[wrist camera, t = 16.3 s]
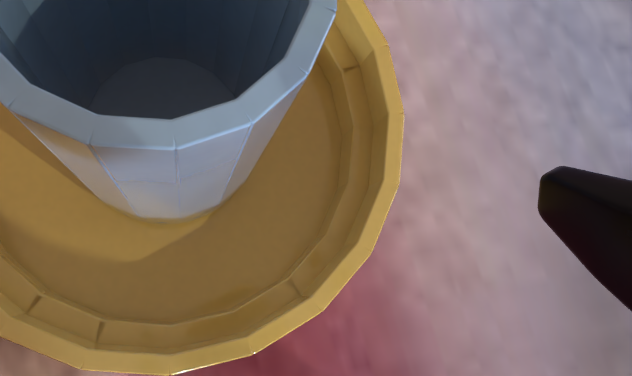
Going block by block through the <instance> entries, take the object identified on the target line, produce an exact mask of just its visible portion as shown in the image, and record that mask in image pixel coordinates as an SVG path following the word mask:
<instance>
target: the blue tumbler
mask: <svg viewBox="0 0 632 376" xmlns="http://www.w3.org/2000/svg"><path fill="white" fill-rule="evenodd" d="M336 11H337V0H0V102H1V103H2V104H3V105H4V107H5V108H7V109H8V110H9V111H10V112H11V113H12V114H13V115H14V116H15V117H16V118H17V119H18V120H19V121H20V122H21V123H22V124H23V125H24V126H25V127H26V128H27V129H28V130H29V131H30V132H31V133H32V134H33V135H34V136H35V137H36V138H37V139H38V140H39V141H40V142H42V143H43V144H44V145H45V146H46V147H47V148H48V149H49V150H50V151H51V152H52V153H53V154H54V155H55V156H56V157H57V158H58V159H59V160H60V161H61V162H62V163H63V164H64V165H65V166H66V167H67V168H68V169H69V170H70V171H71V172H72V173H73V174H74V175H75V176H77V177H78V178H79V179H80V180H81V181H82V182H83V183H84V184H85V185H86V186H87V187H88V188H89V189H90V190H91V191H92V192H93V193H94V194H95V195H96V196H97V197H98V198H99V199H100V200H101V201H102V202H103V203H104V204H105V205H107V206H108V207H110V208H112V209H114V210H116V211H117V212H119V213H121V214H123V215H125V216H127V217H130V218H132V219H135V220H138V221H142V222H147V223H152V224H162V225H164V224H179V223H185V222H189V221H193V220H196V219H199V218H201V217H203V216H206V215H208V214H210V213H212V212H213V211H215V210H217V209H218V208H220V207H221V206H222V205H223V204H225V203H226V202H227V201H228V200H229V199H230V198H231V197H232V196H233V195H234V194H235V193H236V192H237V191H238V190H239V189H240V188H241V187H242V185H243V184H244V183H245V181H246V179H247V178H248V176H249V174H250V172H251V171H252V169H253V167H254V166H255V164H256V162H257V161H258V159H259V157H260V156H261V154H262V152H263V151H264V149H265V147H266V146H267V144H268V142H269V141H270V139H271V137H272V136H273V134H274V132H275V131H276V129H277V127H278V126H279V124H280V122H281V121H282V119H283V117H284V116H285V114H286V112H287V111H288V109H289V107H290V106H291V104H292V102H293V101H294V99H295V97H296V96H297V94H298V92H299V91H300V89H301V87H302V85H303V84H304V82H305V80H306V79H307V77H308V75H309V74H310V72H311V70H312V67H313V65H314V63H315V61H316V58H317V56H318V54H319V52H320V50H321V47H322V45H323V43H324V41H325V39H326V36H327V34H328V32H329V30H330V28H331V25H332V23H333V21H334V19H335V16H336Z"/></svg>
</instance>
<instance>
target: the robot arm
mask: <svg viewBox="0 0 632 376" xmlns="http://www.w3.org/2000/svg"><path fill="white" fill-rule="evenodd" d="M538 211H539V214H540V216H541V217H542V219H543V220H544V221H545V222H546V224H547V225H548V226H549V227H550V228H551V229H552V230H553V231H554V232H555V234H556V235H557V236H558V237H559V238H560V239H561V240H562V241H563V243H564V244H565V245H566V246H567V247H568V248H569V249H570V250H571V252H572V253H573V254H574V255H575V256H576V257H577V258H578V259H579V260H580V262H581V263H582V264H583V265H584V266H585V267H586V268H587V269H588V270H589V272H590V273H591V274H592V275H593V276H594V277H595V278H596V279H597V280H598V281H599V282H600V283H601V284H602V285H603V286H604V287H605V288H607V289H608V290H609V291H610V292H611V293H612V294H613V295H614V296H615V297H616V298H617V299H619V300H620V301H621V302H622V303H623V304H624V305H625V306H626V307H627V308H628V309H630V310H631V311H632V181H631V180H626V179H622V178H617V177H613V176H608V175H603V174H599V173H594V172H590V171H585V170H581V169H576V168H571V167H566V166H559V167H556V168H555V169H553V170H551V171H549V172H547V173H546V174H544V175H543V176H542V177H541V180H540V187H539V197H538Z"/></svg>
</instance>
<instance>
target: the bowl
mask: <svg viewBox="0 0 632 376" xmlns="http://www.w3.org/2000/svg"><path fill="white" fill-rule="evenodd" d="M403 113H404V109H403V105H402V101H401V96H400V92H399V88H398V84H397V79H396V75H395V71H394V67H393V62H392V58H391V54H390V49H389V46H388V43H387V41H386V39H385V37H384V36H383V34H382V32H381V30H380V29H379V27H378V25H377V24H376V22H375V20H374V18H373V17H372V15H371V13H370V11H369V10H368V8H367V6H366V4H365V3H364V1H363V0H337V11H336V16H335V19H334V21H333V23H332V25H331V28H330V30H329V32H328V34H327V36H326V39H325V41H324V43H323V45H322V47H321V50H320V52H319V54H318V56H317V58H316V61H315V63H314V65H313V67H312V70H311V72H310V74H309V75H308V77H307V79H306V80H305V82H304V84H303V85H302V87H301V89H300V91H299V92H298V94H297V96H296V97H295V99H294V101H293V102H292V104H291V106H290V107H289V109H288V111H287V112H286V114H285V116H284V117H283V119H282V121H281V122H280V124H279V126H278V127H277V129H276V131H275V132H274V134H273V136H272V137H271V139H270V141H269V142H268V144H267V146H266V147H265V149H264V151H263V152H262V154H261V156H260V157H259V159H258V161H257V162H256V164H255V166H254V167H253V169H252V171H251V172H250V174H249V176H248V178H247V179H246V181H245V183H244V184H243V185H242V187H241V188H240V189H239V190H238V191H237V192H236V193H235V194H234V195H233V196H232V197H231V198H230V199H229V200H228V201H227V202H226V203H225V204H223V205H222V206H221V207H220V208H218V209H217V210H215V211H213V212H212V213H210V214H208V215H206V216H203V217H201V218H199V219H196V220H193V221H189V222H185V223H179V224H164V225H162V224H152V223H147V222H142V221H138V220H135V219H132V218H130V217H127V216H125V215H123V214H121V213H119V212H117V211H116V210H114V209H112V208H110V207H108V206H107V205H105V204H104V203H103V202H102V201H101V200H100V199H99V198H98V197H97V196H96V195H95V194H94V193H93V192H92V191H91V190H90V189H89V188H88V187H87V186H86V185H85V184H84V183H83V182H82V181H81V180H80V179H79V178H78V177H77V176H75V175H74V174H73V173H72V172H71V171H70V170H69V169H68V168H67V167H66V166H65V165H64V164H63V163H62V162H61V161H60V160H59V159H58V158H57V157H56V156H55V155H54V154H53V153H52V152H51V151H50V150H49V149H48V148H47V147H46V146H45V145H44V144H43V143H42V142H40V141H39V140H38V139H37V138H36V137H35V136H34V135H33V134H32V133H31V132H30V131H29V130H28V129H27V128H26V127H25V126H24V125H23V124H22V123H21V122H20V121H19V120H18V119H17V118H16V117H15V116H14V115H13V114H12V113H11V112H10V111H9V110H8V109H7V108H5V107H4V105H3V104H2V103H1V102H0V337H1V338H4V339H6V340H9V341H11V342H13V343H16V344H18V345H21V346H23V347H26V348H28V349H31V350H33V351H35V352H38V353H40V354H43V355H45V356H48V357H50V358H53V359H55V360H57V361H60V362H62V363H65V364H67V365H70V366H72V367H75V368H77V369H81V368H82V370H87V371H102V372H117V373H132V374H146V375H161V376H169V375H176V374H180V373H184V372H188V371H192V370H196V369H200V368H204V367H208V366H212V365H216V364H220V363H224V362H228V361H232V360H236V359H240V358H244V357H248V356H251V355H253V354H256V353H258V352H259V351H261V350H262V349H264V348H266V347H267V346H269V345H270V344H272V343H274V342H275V341H277V340H278V339H280V338H282V337H283V336H285V335H286V334H288V333H290V332H291V331H293V330H294V329H296V328H298V327H299V326H301V325H302V324H304V323H306V322H307V321H309V320H310V319H312V318H314V317H315V316H317V315H318V314H320V313H321V311H324V310H325V308H326V307H327V306H328V305H329V304H330V302H331V301H332V300H333V299H334V298H335V297H336V295H337V294H338V293H339V292H340V291H341V289H342V288H343V287H344V286H345V285H346V283H347V282H348V281H349V280H350V279H351V277H352V276H353V275H354V274H355V273H356V272H357V270H358V269H359V268H360V267H361V266H362V264H363V263H364V262H365V261H366V260H367V258H368V257H369V256H370V255H371V252H372V251H373V249H374V247H375V244H376V242H377V239H378V237H379V234H380V232H381V229H382V227H383V224H384V222H385V219H386V217H387V214H388V212H389V209H390V207H391V205H392V202H393V200H394V197H395V195H396V192H397V190H398V187H399V185H398V184H399V183H400V171H401V157H402V143H403V129H404V114H403Z"/></svg>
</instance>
